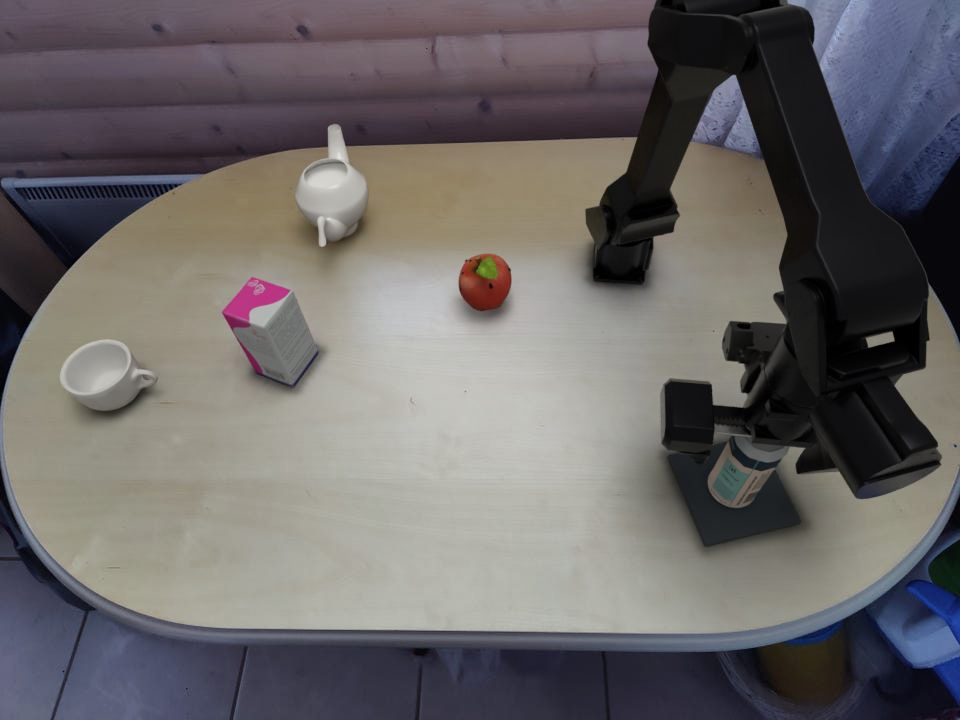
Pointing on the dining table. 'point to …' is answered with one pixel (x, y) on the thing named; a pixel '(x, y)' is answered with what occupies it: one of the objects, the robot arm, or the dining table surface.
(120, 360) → the teacup
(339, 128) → the teapot
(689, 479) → the mat
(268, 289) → the supplement box
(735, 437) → the cream label cylinder
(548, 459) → the dining table surface
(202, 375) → the dining table surface
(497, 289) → the apple
